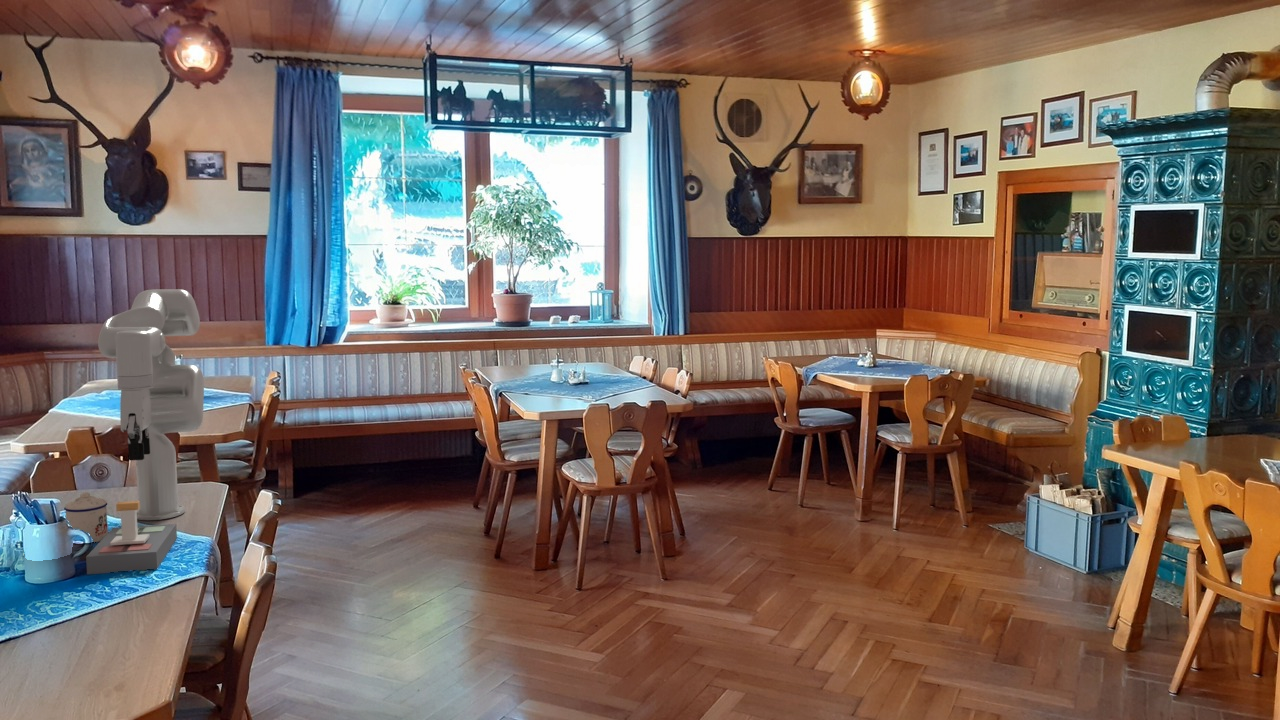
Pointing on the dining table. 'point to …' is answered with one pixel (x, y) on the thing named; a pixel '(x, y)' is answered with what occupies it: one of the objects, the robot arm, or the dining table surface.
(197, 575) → the dining table surface
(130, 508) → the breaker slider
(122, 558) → the switch box
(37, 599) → the dining table surface
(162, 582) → the dining table surface
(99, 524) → the teacup with lid
